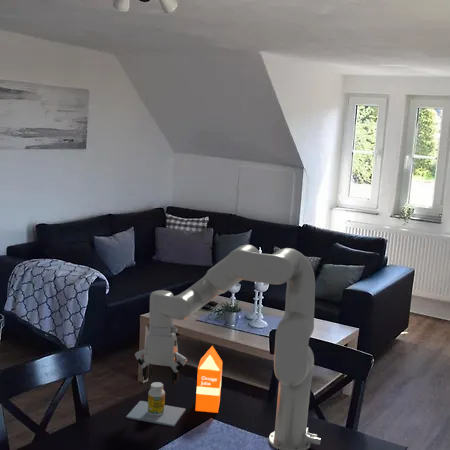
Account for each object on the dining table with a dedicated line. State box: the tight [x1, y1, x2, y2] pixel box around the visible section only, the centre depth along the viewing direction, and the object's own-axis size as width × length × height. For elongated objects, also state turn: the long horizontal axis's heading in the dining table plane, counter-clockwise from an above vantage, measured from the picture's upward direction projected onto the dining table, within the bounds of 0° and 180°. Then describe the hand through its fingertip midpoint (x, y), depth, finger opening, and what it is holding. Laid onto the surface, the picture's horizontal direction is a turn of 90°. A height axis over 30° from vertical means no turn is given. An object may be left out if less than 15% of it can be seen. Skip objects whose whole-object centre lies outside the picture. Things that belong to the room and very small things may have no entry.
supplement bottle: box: [147, 381, 166, 416], centre depth 205 cm, size 5×5×10 cm
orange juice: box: [194, 345, 223, 414], centre depth 213 cm, size 8×9×20 cm
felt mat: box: [125, 400, 187, 427], centre depth 206 cm, size 16×12×1 cm
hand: (160, 380), depth 204 cm, fingers open, 9 cm apart
